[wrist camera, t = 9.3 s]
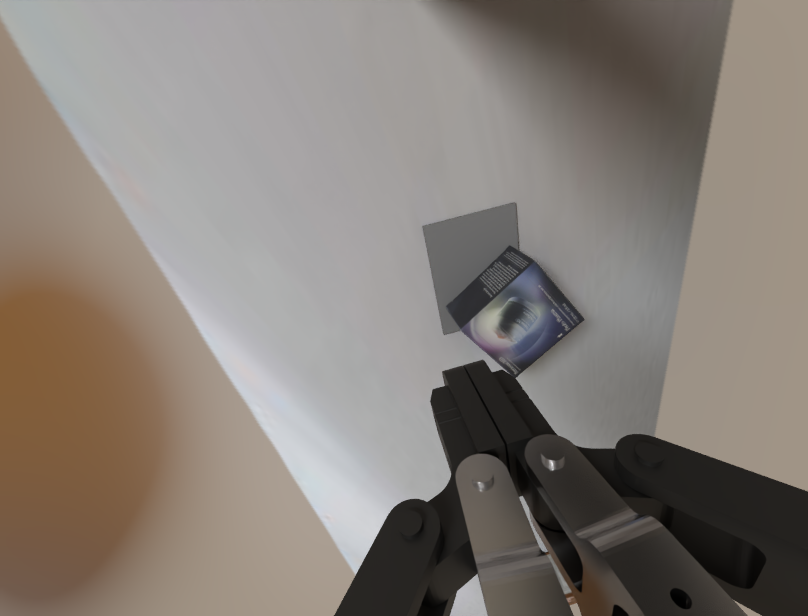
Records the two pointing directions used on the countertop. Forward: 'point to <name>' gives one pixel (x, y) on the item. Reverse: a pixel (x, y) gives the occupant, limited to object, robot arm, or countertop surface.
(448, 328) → the mat
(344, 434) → the countertop surface
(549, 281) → the small box
